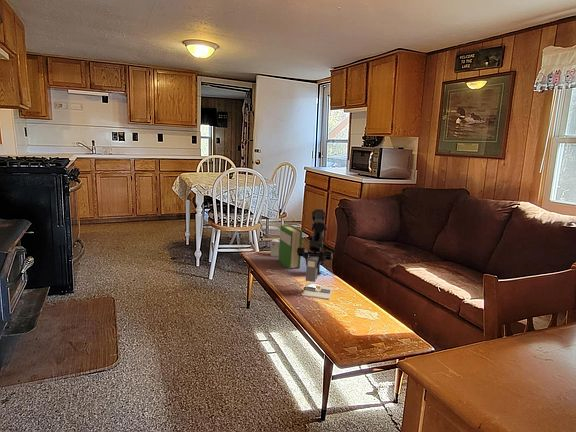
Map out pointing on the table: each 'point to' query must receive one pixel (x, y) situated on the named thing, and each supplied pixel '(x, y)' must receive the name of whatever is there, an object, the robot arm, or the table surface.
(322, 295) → the board
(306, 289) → the din rail
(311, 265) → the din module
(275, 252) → the light bulb box
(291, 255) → the hardback book
